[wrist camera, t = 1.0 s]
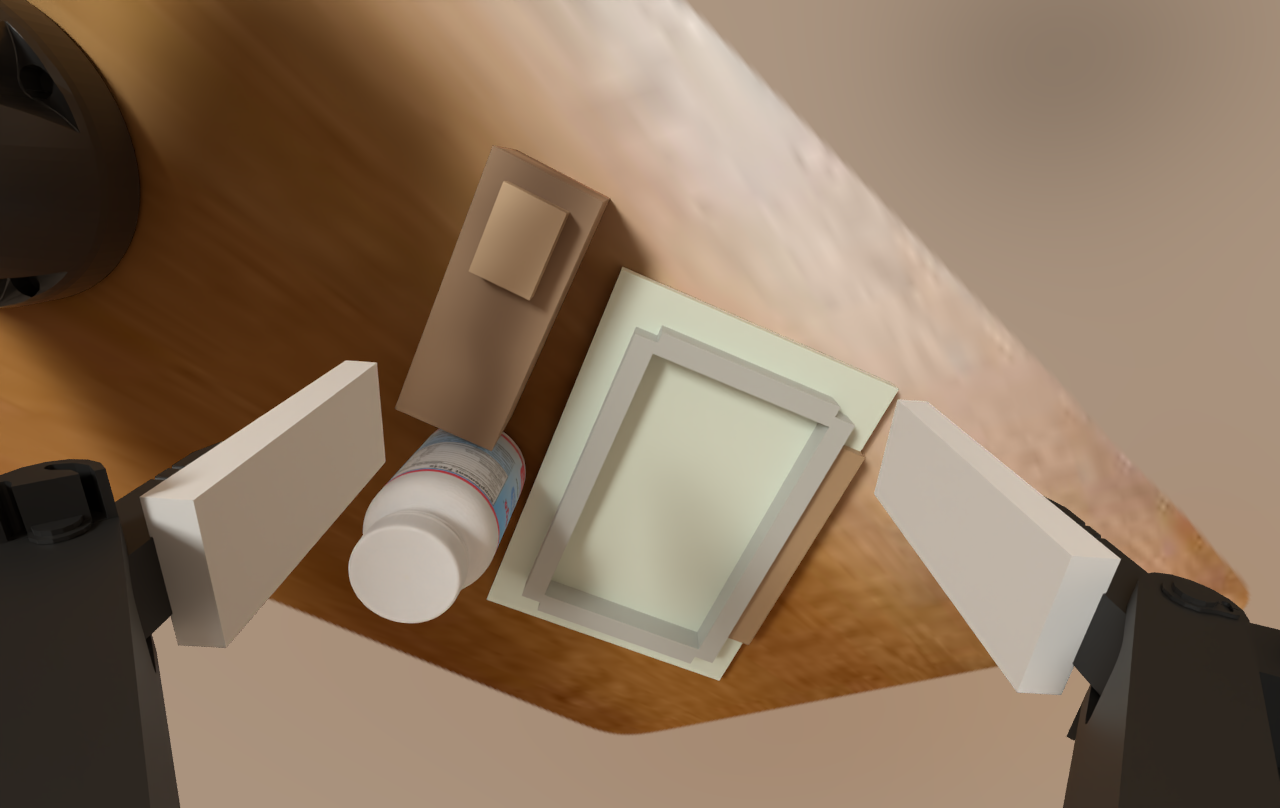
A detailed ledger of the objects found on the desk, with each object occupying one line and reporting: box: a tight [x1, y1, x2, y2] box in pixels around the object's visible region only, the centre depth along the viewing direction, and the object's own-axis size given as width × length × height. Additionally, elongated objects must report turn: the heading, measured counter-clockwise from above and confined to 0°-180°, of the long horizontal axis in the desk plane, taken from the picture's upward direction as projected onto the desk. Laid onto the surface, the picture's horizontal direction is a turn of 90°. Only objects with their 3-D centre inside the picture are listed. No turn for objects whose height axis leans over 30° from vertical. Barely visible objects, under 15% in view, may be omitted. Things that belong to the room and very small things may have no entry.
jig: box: [487, 267, 899, 681], centre depth 35 cm, size 16×22×2 cm
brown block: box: [395, 145, 610, 451], centre depth 29 cm, size 5×13×6 cm, turn 154°
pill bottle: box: [348, 429, 526, 623], centre depth 30 cm, size 6×6×11 cm
